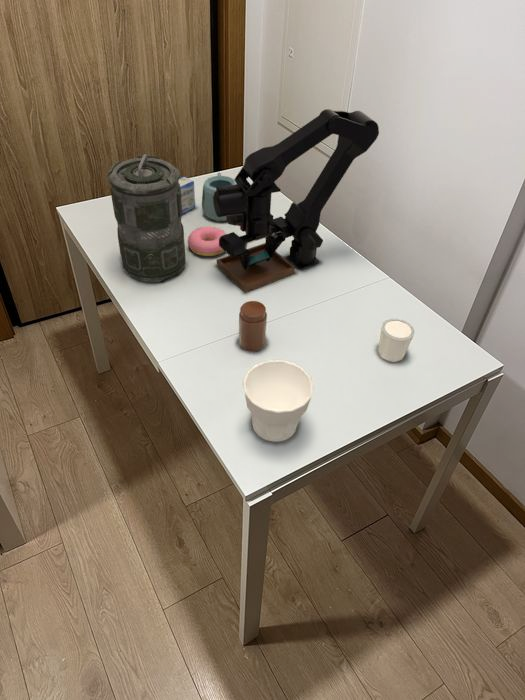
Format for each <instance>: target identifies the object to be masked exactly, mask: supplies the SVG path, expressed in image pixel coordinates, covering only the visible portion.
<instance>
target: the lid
mask: <svg viewBox="0 0 525 700" xmlns="http://www.w3.org/2000/svg"><path fill="white" fill-rule="evenodd" d="M269 258H270V256H269V253H268V251H264V252H261V253H258V254H255V255H253V256H250V257H249V261H248V266H247V267H249V266H252V265H255V264H258V263H260V262H262V261H265V260H267V259H269Z"/></svg>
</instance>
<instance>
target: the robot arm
mask: <svg viewBox="0 0 525 700" xmlns="http://www.w3.org/2000/svg"><path fill="white" fill-rule="evenodd" d="M379 129H380V128H379V125H378V123H377V121H375V120H374V119H373V118H371V117H370V116H368V115H367V114H365V113H364V112H363V111H361V110H354V111H351V112H349V111H345V110H333V109H330V108H329V109H328V108H327V109H323V110H322V111H321V112H319V114H318V115H317V116H316V117H314V118H313V119H311V120H310V121H308V123H306V124H304V125H303V126H301V127H300V128H298V129H297V130H296V131H294V132H293V133H291V134H290V135H289V136H287V137H285V138H284V139H282V140H281V141H280V142H278V143H277V144H275V145H271V146H265V147H262V148H260V149H258V150H256V151H254V152H252V153H250V154H249V155H248V156H246V158H245V159H244V164H243V166H242V167H241V169H240V170H239V171H238V173H237V175H236V176H235V177H234V178H233V179H234V180H235V182H236V183H237V184H236V185H229V186H217V187H216V191H215V192H214V196H213V205H214V209H215V213H216V215H217V217H225V216H226V219H227V220H226V223H227V224H228V225H231V226H234V227H235V226H238V227H239V229H240V231H241V232H245V234H243V235H240V236H239V235H238V234H237V233H236V232H234V231H232V232H229V233H226V235H223V236H221V237H220V238H219V246H220V247H221V248H222V249H223V250H224V252H225V253H227V255H228V256H229V255H230V256H236V255H238V257H239V259H240V262H241V264H242V267H243V268H244V269H245V270H246V269H247V266H248V261H249V256H250V251H249V250H248V249H249V248H248V245H249V244H251V243H254V242H258V241H259V240H263V239H265V242H264V243H265V251H268V253H269V256H270V258H271V257H272V255H273V254H274V252H275V251H276V252H277V250H278V249H279V248H280V246H281V245H282V244H283V242H285V241H286V239H287V238H291V237H292V238H293V239H292V240H291V243H290V244H291V246H289V254H287V255H286V256H285V259H286V260H287V261H288V262H289V263H290V264H292V265H293V266H294V267H295V268H298V270H304V269H306V268H309V267H312V266H315V265H317V264H319V263H320V260H319V259H318V258H317V250H318V249H319V248H321V247H322V244H323V242H324V239H323V238H322V237H321V236H320V235H319V234H318V232H317V230H318V228H319V226H320V223H321V221H320V220H321V213H322V210H323V209H324V207H325V206H326V204H327V202H328V201H329V200H330V198H331V196H332V195H333V194H334V191H335V190H336V189H337V187H338V185H339V184H340V183H341V181H342V179H343V178H344V176H345V174H346V173H347V171H348V170H349V169H350V167H351V165H352V164H353V162H354V160H355V159H356V158H358V157H360V156H361V155H363V154H364V153H366V152H367V151H368V150H369V149H370V148H371V146H372V145H373V144H374V143H375V142H376V141H377V139H378V137H379V134H380V131H379ZM331 135H336V136H338V137H337V142H336V143H337V144H336V147H335V149H334V151H333V152H332V154H331V156H330V157H329V159H328V161H327V162H326V164H325V165H324V167H323V168H322V170H321V172H320V174H318V176H317V178H316V180H315V182H314V183H313V185H312V186H311V188H310V190H309V192H308V193H307V195H306V196H305V198H304V199H303V200H302V201H300V202H298V203H296V202H294V201H293V202H292V203H291V204H290V205H289V208H288V210H287V211H286V212H285V213H284V217H283V216H278V217H275V218H274V215H273V214H272V213H271V209H272V208H271V206H272V194H274V193H280V192H281V188H280V186H279V185H278V184H277V183H276V181H277V180H278V179H279V178H280V177H281V176H282V175H283V174H284V172H285V170H286V168H287V167H288V166H289V165H290V164H291V163H293V162H294V161H296V160H297V159H298V158H299V157H301V156H303V155H305V154H306V153H307V152H308V151H310V150H312V149H313V148H314V147H316V146H317V145H318V144H320V143H321V142H323V141H325V140H326V139H328V138H329V137H330V136H331ZM248 179H250V180H251V182H252V183H250V181H248ZM270 258H269V259H267V260H266V261H267V262H268V261H269V260H270Z"/></svg>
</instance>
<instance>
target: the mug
mask: <svg viewBox="0 0 525 700" xmlns="http://www.w3.org/2000/svg"><path fill="white" fill-rule="evenodd" d="M234 179H235V178H232V177H230V176H227V175H226V176H225V175H222V173H221V172H217V175H214V176H210V177H208V178H206V179H205V180H204V181H203V186H202V196H201V208H202V213H203V214H204V216H206V217H207V218H209V219H210V220H213V221H217V222H227V219H226V216H225V217H217V215H216V213H215V209H214V205H213V196H214V192H215V191H216V187H217V186H229V185H236V184H237V183H236V182H235V180H234Z"/></svg>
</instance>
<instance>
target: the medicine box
mask: <svg viewBox="0 0 525 700" xmlns="http://www.w3.org/2000/svg"><path fill="white" fill-rule="evenodd" d="M178 182H179V184H180V187H181V201H182V215H184V214H186V213H188V212H190V211H192V210H194V209H196V195H195V181H194V180H193V179H191V178H188V177H186V176H182V177H180V178H179V181H178Z"/></svg>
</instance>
